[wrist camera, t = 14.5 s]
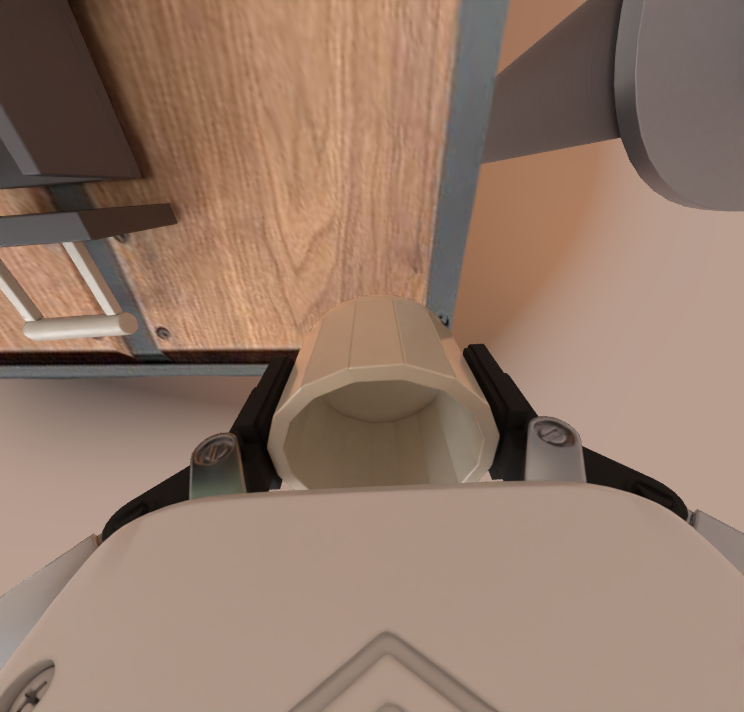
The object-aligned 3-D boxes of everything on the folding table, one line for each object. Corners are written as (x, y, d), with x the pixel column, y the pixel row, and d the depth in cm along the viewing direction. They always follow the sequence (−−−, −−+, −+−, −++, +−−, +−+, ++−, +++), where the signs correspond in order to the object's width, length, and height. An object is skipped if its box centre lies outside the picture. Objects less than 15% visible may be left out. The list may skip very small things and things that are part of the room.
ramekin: (463, 287, 11) (523, 357, 7) (447, 416, 15) (480, 512, 10) (286, 299, 11) (234, 373, 7) (317, 423, 15) (296, 520, 11)
